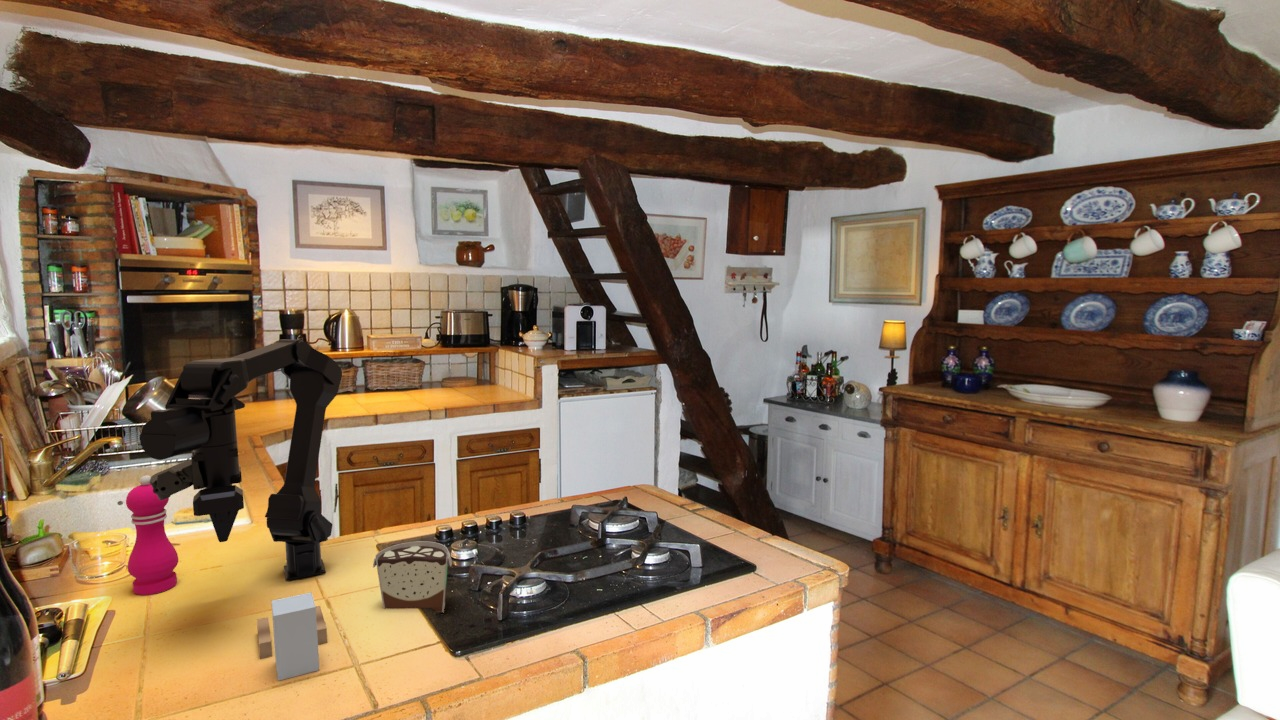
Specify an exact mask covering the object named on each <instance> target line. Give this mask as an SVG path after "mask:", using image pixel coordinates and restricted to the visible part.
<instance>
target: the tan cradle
mask: <svg viewBox="0 0 1280 720" xmlns="http://www.w3.org/2000/svg"><path fill="white" fill-rule="evenodd" d="M315 606H316V605H315ZM321 607H322V606H321V605H317V606H316V621H317V637H318V646H320V645H323V644H327V643H328V632H327V625H326V621H325V618H324V614H323V611H322V608H321ZM269 620H270V619H269V617H268V616H266V617H262V618H258V619H256V626H257V639H258V648H259V649H258V650H259V659H260V660H262V659H267V658H270V657H273V648H272V647H273V645H272V636H271V635H272V634H271V629H270V621H269Z"/></svg>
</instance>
